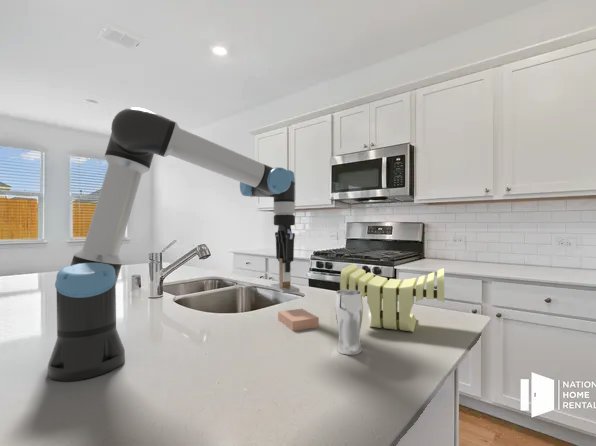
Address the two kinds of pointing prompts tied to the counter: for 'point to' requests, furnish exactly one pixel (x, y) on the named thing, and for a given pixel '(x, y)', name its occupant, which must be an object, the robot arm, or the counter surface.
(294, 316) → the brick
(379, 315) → the slatted curved stool
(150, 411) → the counter surface
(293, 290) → the trowel
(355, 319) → the beer glass
